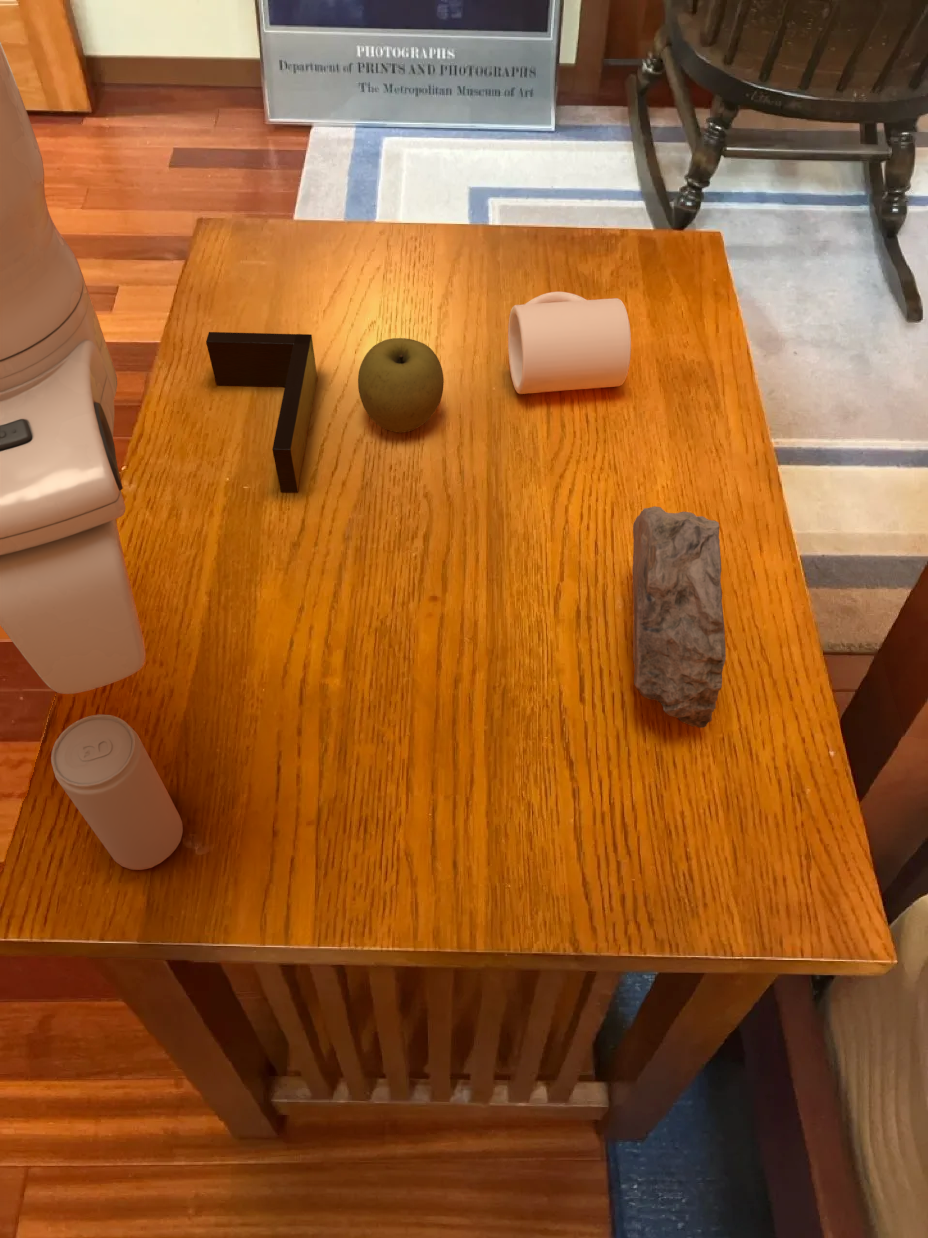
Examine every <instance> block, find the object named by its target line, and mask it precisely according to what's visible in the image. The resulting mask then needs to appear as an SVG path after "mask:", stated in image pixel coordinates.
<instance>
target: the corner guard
mask: <svg viewBox="0 0 928 1238" xmlns="http://www.w3.org/2000/svg"><path fill="white" fill-rule="evenodd" d="M207 333H208V334H207V336H206V340H205V343H206V347H207V351H208V357H209V360H210V364H211V368H212V373H213V377H214V381H215V385H216V386H229V387H231V386H233V387H234V386H237V387H267V388H269V387H272V388H284V389H283V395H282V400H281V405H280V409H279V415H278V419H277V424H276V429H275V434H274V439H273V444H272V449H271V450H272V455H273V458H274V459H273V460H274V466H275V470H276V475H277V480H278V485H279V491H280V493H298V492H299V488H300V481H301V476H302V471H303V470H302V469H303V464H304V458H305V451H306V446H307V442H308V441H307V440H308V436H309V429H310V424H311V423H310V422H311V417H312V411H313V406H314V400H315V394H316V387H317V382H318V373H317V365H316V358H315V357H316V356H315V351H314V343H313V335H312V334H310V333H309V334H307V333H306V334H305V333H271V332H270V333H269V332H268V333H266V332H231V331H230V332H227V331H208V332H207Z"/></svg>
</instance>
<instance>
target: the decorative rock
mask: <svg viewBox="0 0 928 1238" xmlns="http://www.w3.org/2000/svg"><path fill="white" fill-rule="evenodd" d="M632 538H633V545H632V549H633V550H632V551H633V552H632V596H633V597H632V599H633V602H632V603H633V626H632V627H633V629H632V631H633V632H632V639H633V640H632V645H633V646H632V651H633V653H632V657H633V659H632V660H633V661H632V662H633V665H634V675H633V685H634V687H635V688H636V689H637V691H638V692H639V693H640V695H641V696H642V697H643V698H645V699H647V700H653V701H656V702H658V703H659V704H660V705H661V707H662V710H663V712H664V713H665V714H667V715H668V716H669V717H673V718H676V719H678V721H679V722H681V723H683V724H686V725H688V726H690V727H696V728H699V729H704V728H707V726H708V724H709V723H710V722H712V720H713V716H712V715H713V712H714V711H715V710H716V708H717V707H716V706H717V700H718V696H719V692H720V690H721V689H722V688H723V687H722V685H723V671H724V666H725V664H726V657H727V653H726V652H727V650H726V635H725V634H726V633H725V631H726V630H725V619H724V610H723V592H722V591H723V589H722V581H721V580H722V579H721V575H722V556H721V545H720V522H718V521H716V519H715V520H714V519H713V520H712V519H709V518H706V517H705V516H702V515H700V516H699V515H696V514H695V513H694V512H690V511H680V512H667V511H665V510H664V509H663V508H662V507H661V506H656V505H655V506H651V507H646V508H645V507H644V508H643V509H642V510H641V511H640V513H639V515H637V517H636V518H635V520H634V521H633V526H632Z"/></svg>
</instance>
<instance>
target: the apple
mask: <svg viewBox="0 0 928 1238" xmlns="http://www.w3.org/2000/svg"><path fill="white" fill-rule="evenodd" d="M357 375H358V377H357V387H358V394H359V398H360V402H361V404H362V406H363V408H364V410H365V412H366V414H367V415H368V417H369V418H370V419H371V420H372V421H373V422H374V423H375V424H376V425H377V426H379V427H380V428H383V429H385V430H386V431H390V432H394V433H408V432H411V431H414V430H417V429H418V428H419V427H421V426H423V425H424V424H425V423H426V422H427V421H429V420H430V419H431V417H432V416H433V415H434V414H435V412H436V411H437V410H438V407H439V406H440V403H441V400H442V398H443V397H442V396H443V393H444V383H445V382H444V381H445V380H444V372H443V367H442V365H441V361H440V359H439V358H438V356H437V354H436V353H435V351H434V350H433V349H432V347H431V348H430V346H428V345H426V343H424V342H421V341H419V340H415V339H412V338H407V337H395V338H393V337H392V338H387V339H384V340H381V341H380V342H378V343H376V344H374V345H373V346H372V347H371V348H370V349H369V350H368V352H367V353H366V354H365V355H364V357H363V359H362V361H361V364H360V367H359V370H358V374H357Z"/></svg>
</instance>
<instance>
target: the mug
mask: <svg viewBox="0 0 928 1238" xmlns="http://www.w3.org/2000/svg"><path fill="white" fill-rule="evenodd" d="M507 326H508V327H507V348H508V349H507V350H508V351H507V352H508V362H509V363H508V364H509V371H510V376H511V381H512V385H513V388H514V391H515V392H516V393H517V394H519V395H523V394H524V395H525V394H536V393H548V392H549V393H550V392H562V391H563V392H564V391H575V390H577V391H578V390H589V389H601V388H613V387H620V386H622V385H623V384H624V383H625V381H626V380H627V377H628V373H629V370H630V365H631V356H632V335H631V334H632V333H631V324H630V318H629V315H628V311H627V308H626V306H625V304H624V302H623V301H622V300H621V299H620V298H618V297H614V298H613V297H612V298H597V299H586V298H584V297H582V296H580V295H579V294H575V293H572V292H567V291H551V292H546V293H543V294H540V295H538V296H536V297H534V298H532V299H530V300H529V301H527V302H526V303H524V304H515V305H513V306H512V308H511V310H510V312H509V318H508V325H507Z"/></svg>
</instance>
